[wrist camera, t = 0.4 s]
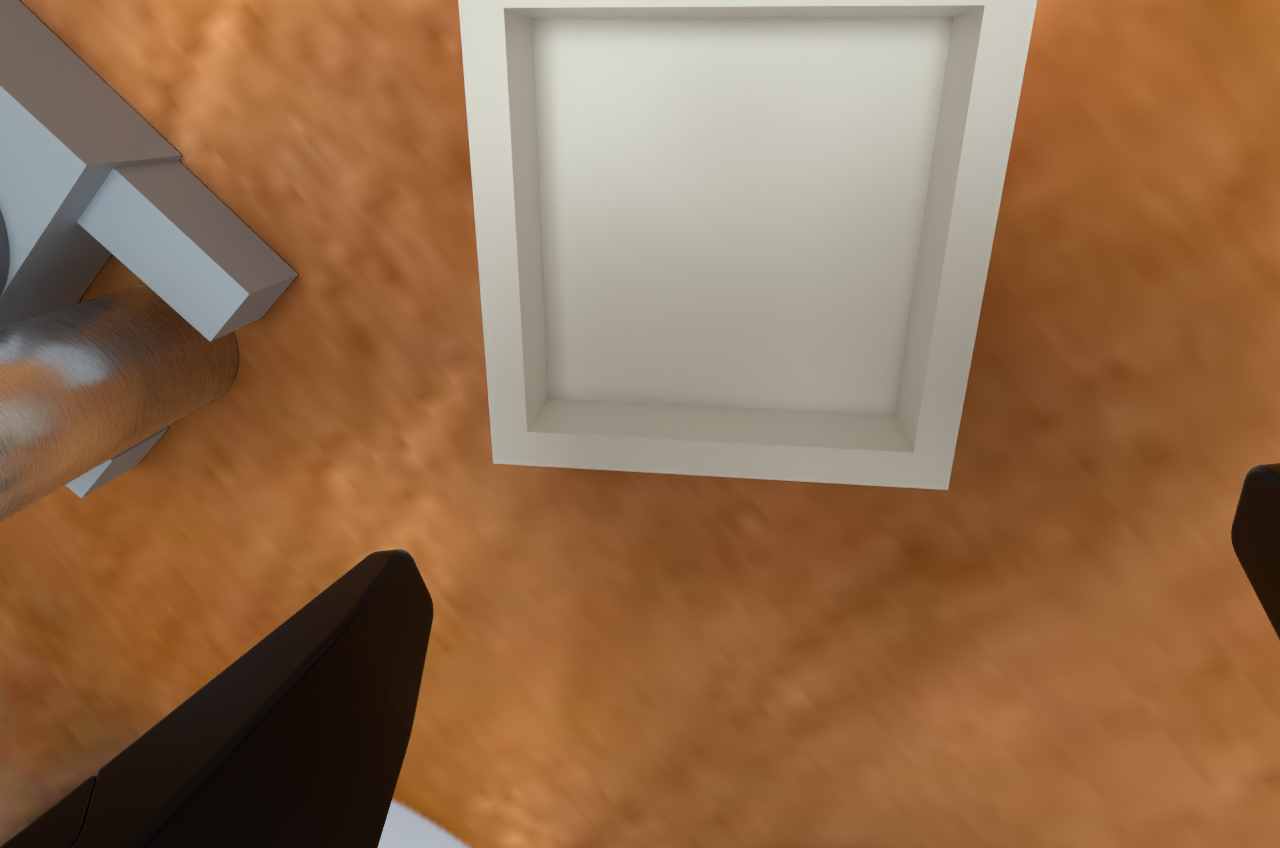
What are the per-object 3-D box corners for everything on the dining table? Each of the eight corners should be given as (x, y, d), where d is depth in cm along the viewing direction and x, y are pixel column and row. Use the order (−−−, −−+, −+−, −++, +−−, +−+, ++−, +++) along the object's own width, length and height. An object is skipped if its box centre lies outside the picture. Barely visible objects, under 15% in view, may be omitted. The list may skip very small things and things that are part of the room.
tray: (921, 441, 23) (947, 489, 20) (522, 420, 24) (493, 463, 21) (998, -29, 18) (1046, -53, 15) (496, -25, 19) (454, -46, 16)
